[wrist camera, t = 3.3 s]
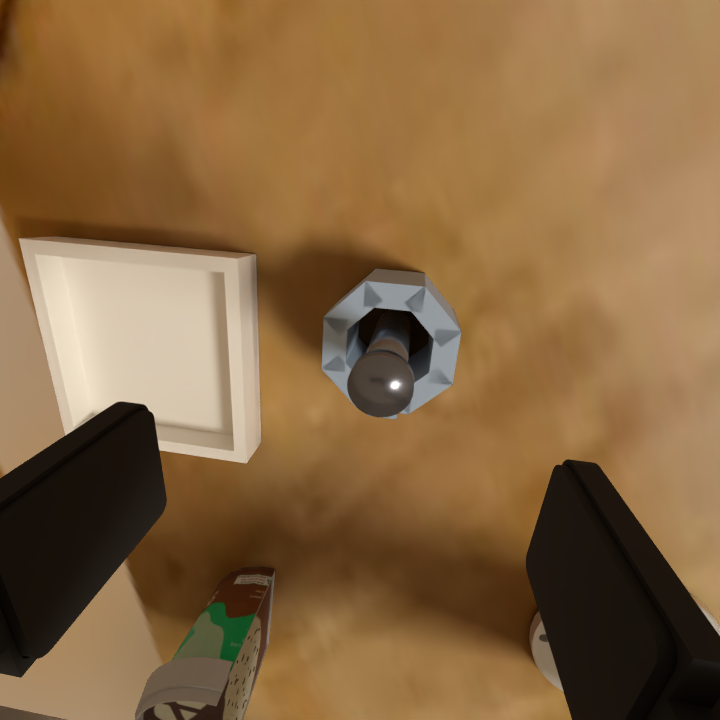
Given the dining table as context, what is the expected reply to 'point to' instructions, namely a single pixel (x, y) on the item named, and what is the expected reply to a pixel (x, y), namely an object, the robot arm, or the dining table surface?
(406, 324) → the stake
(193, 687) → the food container
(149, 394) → the tray
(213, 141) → the dining table surface
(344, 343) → the ring
